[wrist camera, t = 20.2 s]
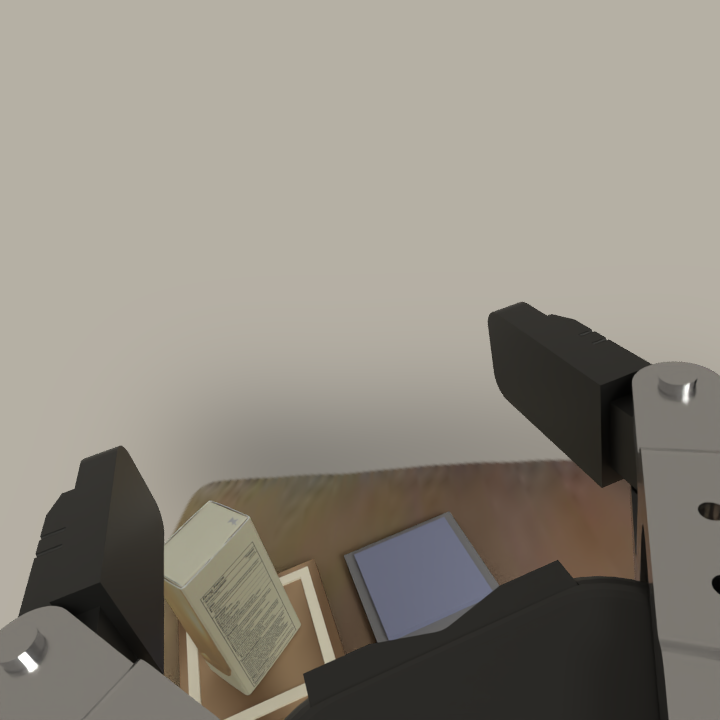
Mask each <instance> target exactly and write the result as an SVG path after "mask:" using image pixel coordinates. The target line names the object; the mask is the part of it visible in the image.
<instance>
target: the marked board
mask: <svg viewBox="0 0 720 720" xmlns="http://www.w3.org/2000/svg"><path fill="white" fill-rule="evenodd" d="M277 575H278V577H279V579H280V581H281V583H282V585H283V587H284V589H285V592H286V594H287V596H288V598H289V600H290V602H291V604H292V606H293V608H294V610H295V612H296V614H297V617H298V619H299V621H300V623H301V626H300V628H299V629H298V631H297V632H296V633H295V635H294V636H293V638H292V639H291V641H290V642H289V643H288V645H287V646H286V648H285V649H284V650H283V652H282V653H281V655H280V656H279V657H278V659H277V660H276V661H275V663H274V664H273V665H272V667H271V668H270V669H269V671H268V672H267V674H266V675H265V676H264V678H263V679H262V680H261V681H260V683H259V684H258V685H257V687H256V688H255V689H254V691H253V692H252V693H251V694H250V695H245V694H244V693H242V692H241V691H239V690H238V689H236V688H235V687H233V686H232V685H231V684H229V683H228V682H227V681H225V680H224V679H223V678H221V677H220V676H219V675H217V674H216V673H215V672H214V671H212V670H211V669H210V667H209V666H208V664H207V663H206V661H205V659H204V658H203V656H202V655H201V653H200V652H199V650H198V648H197V647H196V645H195V644H194V642H193V641H192V639H191V638H190V636H189V635H188V633H187V632H186V630H185V629H184V627H183V626H182V624H181V622H180V621H179V619H178V635H179V669H180V688H181V689H182V690H183V691H184V692H186V693H187V694H188V695H190V696H191V697H192V698H193V699H195V700H196V701H197V702H199V703H200V704H201V705H202V706H204V707H205V708H206V709H208V710H209V711H210V712H211V713H213V714H214V715H215V716H217V717H218V718H219V719H220V720H284V719H285V718H286V717H287V716H288V715H289V714H290V713H291V712H292V711H293V710H294V709H295V708H296V707H297V706H298V705H300V704H301V703H302V702H303V701H305V700H306V699H307V698H308V694H307V689H306V685H305V681H304V676H303V674H304V673H306V672H308V671H310V670H313V669H315V668H317V667H319V666H321V665H324V664H326V663H328V662H330V661H333V660H335V659H337V658H339V657H342V656H344V655H345V652H344V649H343V646H342V643H341V640H340V637H339V634H338V631H337V628H336V624H335V621H334V618H333V615H332V612H331V609H330V606H329V603H328V600H327V596H326V593H325V590H324V587H323V584H322V581H321V578H320V575H319V571H318V568H317V565H316V563H315V560H314V559H312V560H309V561H307V562H305V563H302V564H300V565H297V566H295V567H293V568H290V569H288V570H285V571H283V572H281V573H278V574H277Z"/></svg>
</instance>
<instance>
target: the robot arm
mask: <svg viewBox="0 0 720 720" xmlns="http://www.w3.org/2000/svg"><path fill="white" fill-rule="evenodd" d="M488 328H489V336H490V344H491V351H492V360H493V368H494V375H495V379H496V382H497V385H498V387H499V389H500V391H501V393H502V394H503V396H504V397H505V398H506V399H507V400H508V401H509V402H510V403H511V404H512V405H513V406H514V407H515V408H516V409H517V410H518V411H520V412H521V413H522V414H523V415H524V416H525V417H526V418H527V419H528V420H529V421H530V422H531V423H532V424H534V425H535V426H536V427H537V428H538V429H539V430H540V431H541V432H542V433H543V434H544V435H545V436H546V437H548V438H549V439H550V440H551V441H552V442H553V443H554V444H555V445H556V446H557V447H558V448H559V449H560V450H562V451H563V452H564V453H565V454H566V455H567V456H568V457H569V458H570V459H571V460H572V461H573V462H575V463H576V464H577V465H578V466H579V467H580V468H581V469H582V470H583V471H584V472H585V473H586V474H587V475H589V476H590V477H591V478H592V479H593V480H594V481H595V482H596V483H597V484H598V485H599V486H600V487H601V488H603V487H605V486H608V485H610V484H612V483H615V482H617V481H619V480H622V479H625V480H626V481H627V482H628V483H630V505H631V521H632V537H633V553H634V570H635V580H632V579H626V578H618V577H604V576H592V577H579V578H572V576H571V575H570V574H569V573H568V572H567V570H566V569H565V568H564V567H563V566H562V564H561V563H560V562H559V561H558V560H557V561H554V562H552V563H550V564H548V565H545V566H543V567H541V568H539V569H536V570H534V571H532V572H530V573H527V574H525V575H523V576H521V577H518V578H516V579H514V580H512V581H510V582H507V583H505V584H503V585H501V586H499V587H497V588H496V589H495V590H494V591H492V592H491V593H490V594H489V595H487V596H486V597H485V598H484V599H482V600H481V601H480V602H478V603H477V604H476V605H475V606H473V607H472V608H471V609H470V610H468V611H467V612H466V613H465V614H463V615H462V616H461V617H460V618H458V619H457V620H456V621H455V622H453V623H452V624H451V625H450V626H448V627H447V628H445V629H443V630H441V631H437V632H433V633H427V634H422V635H416V636H411V637H406V638H400V639H395V640H389V641H384V642H378V643H373V644H368V645H366V646H364V647H362V648H360V649H357V650H355V651H353V652H351V653H348V654H346V655H344V656H342V657H339V658H337V659H335V660H333V661H330V662H328V663H326V664H324V665H321V666H319V667H317V668H315V669H313V670H310V671H308V672H306V673H304V674H303V676H304V681H305V685H306V689H307V694H308V698H307V699H306V700H305V701H303V702H302V703H301V704H300V705H298V706H297V707H296V708H295V709H294V710H293V711H292V712H291V713H290V714H289V715H288V716H287V717H286V718H285V719H284V720H720V376H719V375H718V374H717V373H715V372H714V371H712V370H710V369H708V368H706V367H703V366H700V365H697V364H692V363H685V362H663V363H656V364H650V363H649V362H647V361H645V360H643V359H642V358H640V357H638V356H637V355H635V354H633V353H631V352H630V351H628V350H626V349H624V348H623V347H620V346H619V345H617V344H616V343H614V342H612V341H611V340H606V338H605V337H604V336H602V335H600V334H599V333H597V332H592V330H591V329H590V328H588V327H586V326H585V325H583V324H581V323H579V322H578V321H576V320H574V319H570V318H565V317H561V316H557V315H553V314H551V315H548V316H547V315H545V314H543V313H542V312H540V311H538V310H537V309H535V308H534V307H532V306H530V305H529V304H527V303H525V302H520V303H517V304H514V305H511V306H508V307H506V308H503V309H500V310H497V311H495V312H492V313H490V315H489V317H488ZM40 537H41V540H40V541H39V544H38V547H37V551H36V556H37V558H35V559H34V562H33V565H32V569H31V572H30V576H29V580H28V584H27V587H26V591H25V595H24V598H23V601H22V605H21V609H20V613H19V616H18V618H17V619H15V620H13V621H12V622H10V623H9V624H8V625H6V626H5V627H4V628H3V629H1V630H0V720H220V719H219V718H218V717H217V716H215V715H214V714H213V713H211V712H210V711H209V710H208V709H206V708H205V707H204V706H202V705H201V704H200V703H199V702H197V701H196V700H195V699H193V698H192V697H191V696H190V695H188V694H187V693H186V692H184V691H183V690H182V689H181V688H179V687H178V686H177V685H175V684H174V683H173V682H172V681H170V680H169V679H168V678H166V677H165V676H164V675H163V674H164V526H163V521H162V517H161V514H160V511H159V508H158V506H157V504H156V501H155V500H154V498H153V496H152V494H151V492H150V491H149V489H148V487H147V485H146V483H145V482H144V480H143V478H142V476H141V474H140V473H139V471H138V469H137V467H136V465H135V464H134V462H133V460H132V458H131V456H130V455H129V453H128V452H127V450H126V449H125V448H124V447H123V446H118V447H115V448H113V449H110V450H107V451H105V452H101V453H99V454H96V455H93V456H90V457H88V458H85V459H83V460H82V461H81V463H80V467H79V472H78V476H77V481H76V485H75V489H73V490H70V491H68V492H65V493H62V494H61V496H60V497H59V499H58V500H57V501H56V503H55V504H54V505H53V507H52V508H51V510H50V511H49V512H48V514H47V515H46V518H45V522H44V525H43V529H42V532H41V536H40Z"/></svg>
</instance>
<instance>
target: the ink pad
mask: <svg viewBox="0 0 720 720" xmlns="http://www.w3.org/2000/svg"><path fill="white" fill-rule="evenodd" d="M344 557H345V560H346V563H347V565H348V568H349V571H350V573H351V576H352V578H353V581H354V584H355V586H356V589H357V591H358V594H359V597H360V599H361V602H362V604H363V607H364V610H365V612H366V615H367V617H368V620H369V623H370V625H371V628H372V630H373V633H374V635H375V638H376V641H377V643H378V642H384V641H389V640H395V639H400V638H406V637H411V636H416V635H422V634H427V633H433V632H437V631H441V630H443V629H445V628H447V627H448V626H450V625H451V624H452V623H453V622H455V621H456V620H457V619H458V618H460V617H461V616H462V615H463V614H465V613H466V612H467V611H468V610H470V609H471V608H472V607H473V606H475V605H476V604H477V603H478V602H480V601H481V600H482V599H484V598H485V597H486V596H487V595H489V594H490V593H491V592H492V591H494V590H495V589H496V588H497V587H499V585H498V583H497V582H496V580H495V579H494V577H493V576H492V574H491V573H490V571H489V570H488V568H487V567H486V565H485V564H484V562H483V561H482V559H481V558H480V556H479V555H478V553H477V552H476V550H475V549H474V547H473V546H472V544H471V543H470V541H469V540H468V539H467V537H466V536H465V534H464V533H463V531H462V530H461V528H460V527H459V525H458V524H457V522H456V521H455V519H454V518H453V516H452V515H451V513H450V512H447V513H444V514H442V515H439V516H437V517H435V518H432V519H430V520H428V521H425V522H423V523H420V524H418V525H416V526H413V527H411V528H408V529H406V530H404V531H401V532H399V533H397V534H394V535H392V536H389V537H387V538H385V539H382V540H380V541H377V542H375V543H373V544H370V545H368V546H366V547H363V548H361V549H358V550H356V551H354V552H351V553H349V554H346V555H344Z"/></svg>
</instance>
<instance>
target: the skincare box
mask: <svg viewBox="0 0 720 720" xmlns="http://www.w3.org/2000/svg"><path fill="white" fill-rule="evenodd" d="M164 598H165V599H166V601H167V602H168V604H169V605H170V607H171V609H172V610H173V612H174V613H175V615H176V616H177V618H178V619H179V621H180V622H181V624H182V626H183V627H184V629H185V630H186V632H187V633H188V635H189V636H190V638H191V639H192V641H193V642H194V644H195V645H196V647H197V648H198V650H199V652H200V653H201V655H202V656H203V658H204V659H205V661H206V663H207V664H208V666H209V667H210V669H211V670H212V671H214V672H215V673H216V674H217V675H219V676H220V677H221V678H223V679H224V680H225V681H227V682H228V683H229V684H231V685H232V686H233V687H235V688H236V689H238V690H239V691H241V692H242V693H244V694H245V695H250V694H251V693H252V692H253V691H254V689H255V688H256V687H257V685H258V684H259V683H260V681H261V680H262V679H263V678H264V676H265V675H266V674H267V672H268V671H269V669H270V668H271V667H272V665H273V664H274V663H275V661H276V660H277V659H278V657H279V656H280V655H281V653H282V652H283V650H284V649H285V648H286V646H287V645H288V643H289V642H290V641H291V639H292V638H293V636H294V635H295V633H296V632H297V631H298V629H299V628H300V626H301V623H300V621H299V619H298V617H297V614H296V612H295V610H294V608H293V606H292V604H291V602H290V600H289V598H288V596H287V594H286V592H285V589H284V587H283V585H282V583H281V581H280V579H279V577H278V575H277V573H276V571H275V569H274V566H273V564H272V562H271V560H270V558H269V556H268V554H267V552H266V550H265V548H264V546H263V543H262V541H261V539H260V537H259V535H258V533H257V531H256V529H255V527H254V525H253V523H252V520H251V518H250V517H249V516H247V515H245V514H243V513H241V512H238V511H236V510H234V509H231V508H229V507H227V506H224V505H222V504H219V503H216V502H214V501H211V500H210V501H208V502H207V503H206V504H205V505H204V506H203V507H202V508H201V509H199V510H198V511H197V512H196V513H195V514H194V515H193V516H192V517H191V518H190V519H189V520H188V521H187V522H186V523H185V524H184V525H183V526H182V527H181V528H179V529H178V530H177V531H176V532H175V533H174V534H173V535H172V536H171V537H170V538H169V539H168V540H167V541H166V542H165V543H164Z"/></svg>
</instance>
